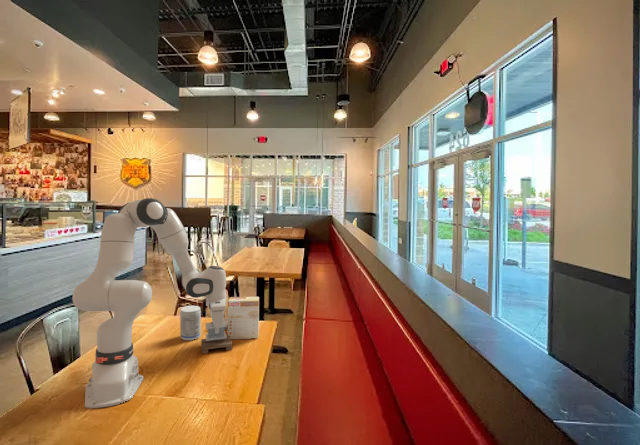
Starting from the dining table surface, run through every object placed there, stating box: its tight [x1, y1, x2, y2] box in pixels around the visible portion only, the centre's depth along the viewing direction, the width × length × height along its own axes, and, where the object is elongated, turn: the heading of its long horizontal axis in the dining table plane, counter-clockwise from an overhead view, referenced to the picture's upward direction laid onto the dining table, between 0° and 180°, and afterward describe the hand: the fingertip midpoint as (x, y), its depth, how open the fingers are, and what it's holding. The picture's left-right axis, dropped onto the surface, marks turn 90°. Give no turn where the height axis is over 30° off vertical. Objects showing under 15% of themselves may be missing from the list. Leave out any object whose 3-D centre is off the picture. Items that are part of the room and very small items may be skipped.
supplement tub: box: [179, 305, 202, 341], centre depth 174 cm, size 10×10×15 cm
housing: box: [205, 321, 228, 341], centre depth 164 cm, size 9×5×6 cm, turn 112°
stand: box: [200, 335, 233, 355], centre depth 164 cm, size 9×13×3 cm
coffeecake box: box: [227, 296, 260, 340], centre depth 177 cm, size 15×7×20 cm, turn 98°
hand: (216, 330), depth 164 cm, fingers closed on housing, 5 cm apart
